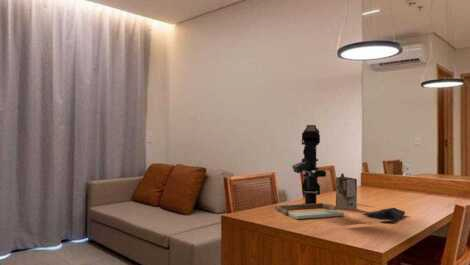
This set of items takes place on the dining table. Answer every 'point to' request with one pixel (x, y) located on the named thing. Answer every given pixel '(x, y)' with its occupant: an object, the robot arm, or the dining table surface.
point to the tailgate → (315, 214)
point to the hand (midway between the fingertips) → (309, 189)
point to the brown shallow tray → (302, 207)
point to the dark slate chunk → (386, 215)
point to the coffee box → (346, 193)
